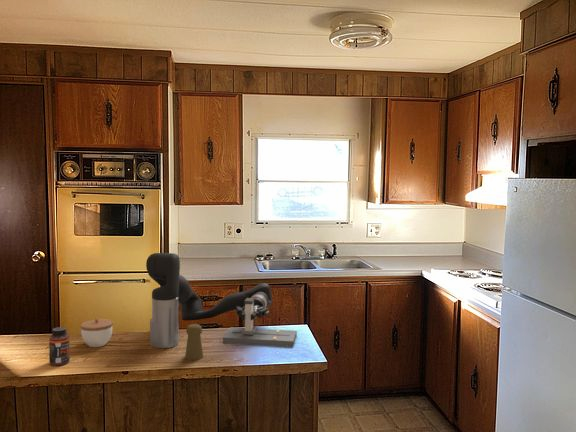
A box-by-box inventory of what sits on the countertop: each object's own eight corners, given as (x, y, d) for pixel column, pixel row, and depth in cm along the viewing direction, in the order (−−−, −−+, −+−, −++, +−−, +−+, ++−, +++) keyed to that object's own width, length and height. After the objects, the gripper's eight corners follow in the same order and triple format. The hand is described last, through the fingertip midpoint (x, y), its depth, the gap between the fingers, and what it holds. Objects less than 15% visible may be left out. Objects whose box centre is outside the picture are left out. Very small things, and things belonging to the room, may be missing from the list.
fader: (242, 334, 178) (242, 300, 177) (245, 329, 183) (245, 297, 182) (253, 334, 178) (253, 301, 177) (255, 330, 183) (255, 298, 182)
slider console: (222, 342, 176) (222, 336, 176) (230, 332, 188) (230, 326, 188) (293, 346, 173) (293, 340, 173) (296, 335, 185) (296, 330, 185)
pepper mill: (199, 361, 158) (199, 328, 157) (182, 359, 160) (182, 327, 159) (206, 354, 164) (206, 323, 163) (189, 352, 165) (189, 321, 165)
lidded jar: (114, 338, 179) (113, 313, 178) (111, 348, 169) (111, 322, 168) (83, 340, 176) (82, 315, 175) (78, 350, 166) (78, 324, 165)
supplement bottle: (62, 367, 152) (62, 332, 151) (45, 365, 152) (44, 331, 151) (73, 360, 157) (72, 326, 157) (56, 358, 158) (56, 325, 157)
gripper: (273, 315, 194) (265, 328, 177) (239, 313, 195) (229, 326, 178) (273, 297, 193) (266, 308, 176) (239, 295, 195) (229, 306, 178)
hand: (247, 317), depth 177 cm, fingers closed on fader, 2 cm apart
